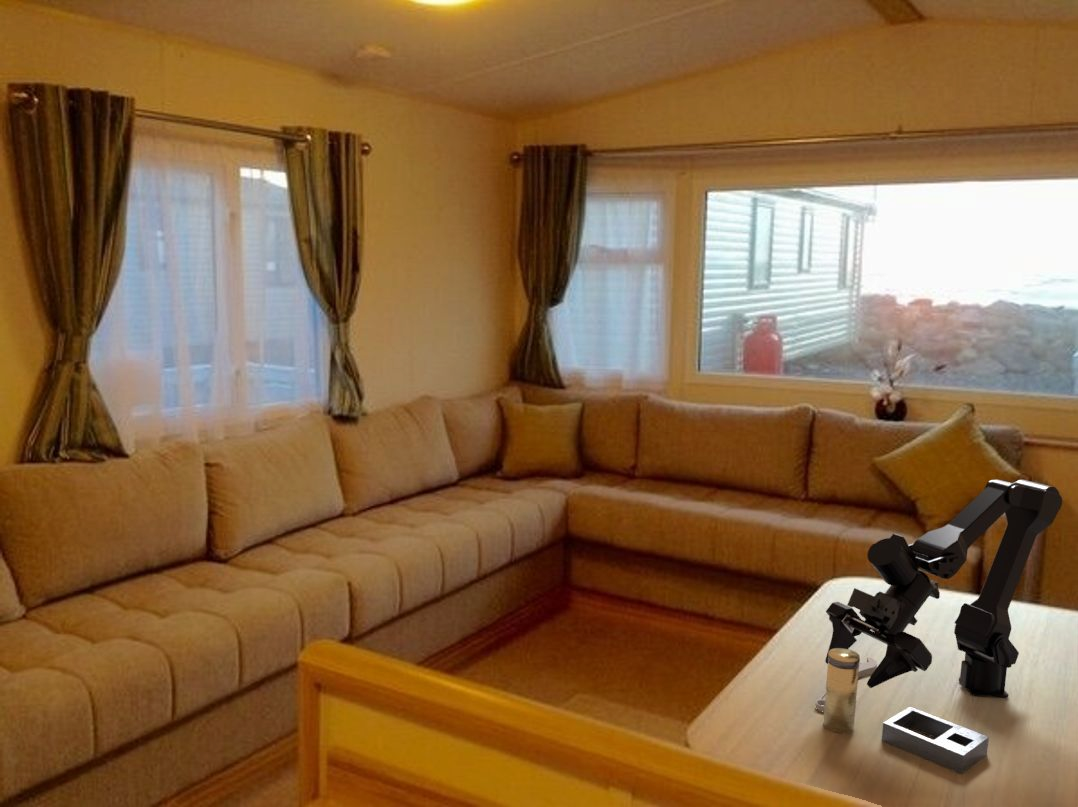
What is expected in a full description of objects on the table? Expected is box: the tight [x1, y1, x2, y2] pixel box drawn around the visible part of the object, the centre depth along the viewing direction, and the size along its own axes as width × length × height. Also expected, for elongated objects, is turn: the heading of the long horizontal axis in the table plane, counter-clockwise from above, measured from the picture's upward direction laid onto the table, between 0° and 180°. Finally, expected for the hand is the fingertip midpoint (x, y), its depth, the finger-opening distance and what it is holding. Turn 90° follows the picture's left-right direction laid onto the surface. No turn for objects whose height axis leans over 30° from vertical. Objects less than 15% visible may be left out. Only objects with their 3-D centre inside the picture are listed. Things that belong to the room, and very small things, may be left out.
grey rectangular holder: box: [881, 706, 990, 775], centre depth 146 cm, size 13×9×3 cm
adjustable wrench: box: [814, 656, 878, 713], centre depth 168 cm, size 25×6×2 cm, turn 141°
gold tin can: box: [822, 648, 861, 734], centre depth 151 cm, size 5×5×12 cm
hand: (847, 674), depth 151 cm, fingers open, 9 cm apart
